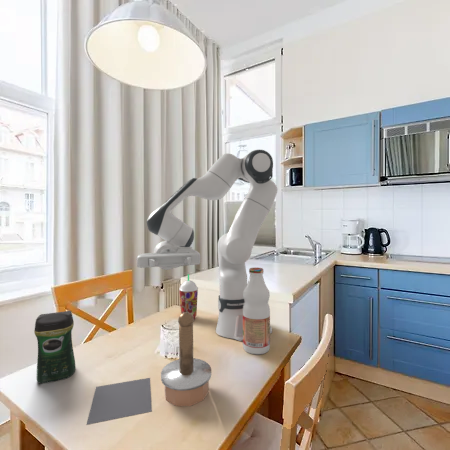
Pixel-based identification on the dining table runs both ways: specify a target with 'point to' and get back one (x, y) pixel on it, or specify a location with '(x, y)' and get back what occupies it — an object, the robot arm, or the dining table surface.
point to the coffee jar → (54, 346)
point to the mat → (120, 400)
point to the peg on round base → (186, 361)
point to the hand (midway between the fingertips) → (171, 263)
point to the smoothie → (188, 297)
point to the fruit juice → (256, 314)
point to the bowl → (186, 395)
